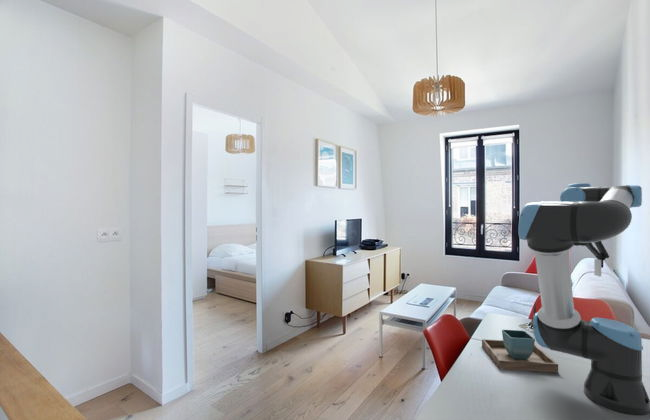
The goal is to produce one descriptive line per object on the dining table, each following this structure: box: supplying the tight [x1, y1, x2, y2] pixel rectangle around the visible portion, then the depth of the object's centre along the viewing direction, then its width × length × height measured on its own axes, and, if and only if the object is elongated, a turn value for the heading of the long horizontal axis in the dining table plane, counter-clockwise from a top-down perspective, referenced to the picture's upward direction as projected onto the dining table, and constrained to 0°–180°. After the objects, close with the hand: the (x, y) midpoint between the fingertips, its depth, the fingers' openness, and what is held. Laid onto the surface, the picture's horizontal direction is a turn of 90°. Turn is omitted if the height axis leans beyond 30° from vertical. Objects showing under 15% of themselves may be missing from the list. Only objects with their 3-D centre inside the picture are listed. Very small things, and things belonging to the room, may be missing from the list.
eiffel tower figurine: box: [518, 303, 537, 334], centre depth 160 cm, size 15×10×13 cm
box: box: [481, 338, 559, 374], centre depth 127 cm, size 20×20×3 cm
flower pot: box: [501, 329, 536, 360], centre depth 127 cm, size 9×9×9 cm
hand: (578, 275), depth 130 cm, fingers open, 13 cm apart
